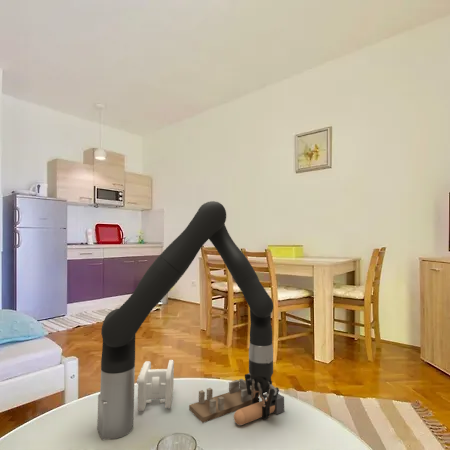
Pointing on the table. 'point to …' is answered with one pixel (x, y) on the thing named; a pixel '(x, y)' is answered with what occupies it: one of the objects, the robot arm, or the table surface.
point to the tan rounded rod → (257, 411)
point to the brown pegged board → (221, 402)
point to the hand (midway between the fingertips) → (260, 414)
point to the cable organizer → (155, 385)
